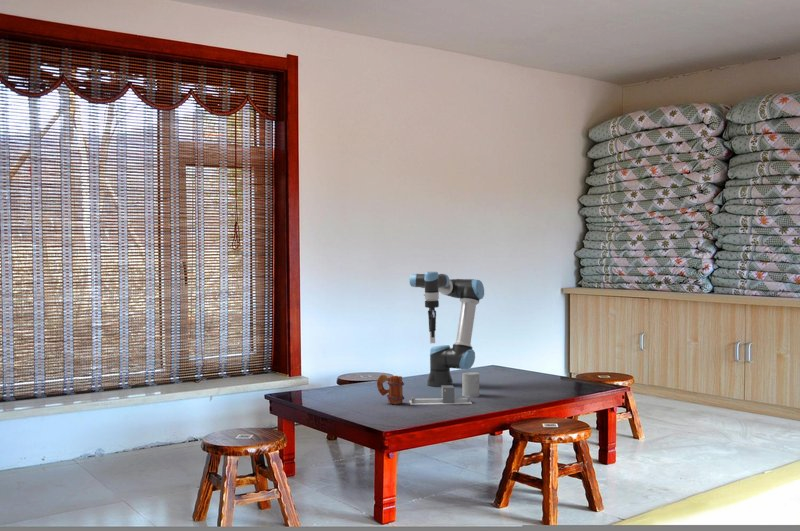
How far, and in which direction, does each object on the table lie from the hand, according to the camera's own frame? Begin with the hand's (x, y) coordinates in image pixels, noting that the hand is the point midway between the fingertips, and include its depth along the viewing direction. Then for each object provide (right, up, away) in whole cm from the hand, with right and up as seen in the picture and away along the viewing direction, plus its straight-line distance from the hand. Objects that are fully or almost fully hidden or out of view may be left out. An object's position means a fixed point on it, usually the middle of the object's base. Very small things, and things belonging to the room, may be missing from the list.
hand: (432, 343), depth 423 cm
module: (+7, -29, -16) cm, 34 cm away
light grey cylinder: (+21, -29, +3) cm, 36 cm away
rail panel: (+3, -30, -16) cm, 34 cm away
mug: (-23, -30, -18) cm, 41 cm away
